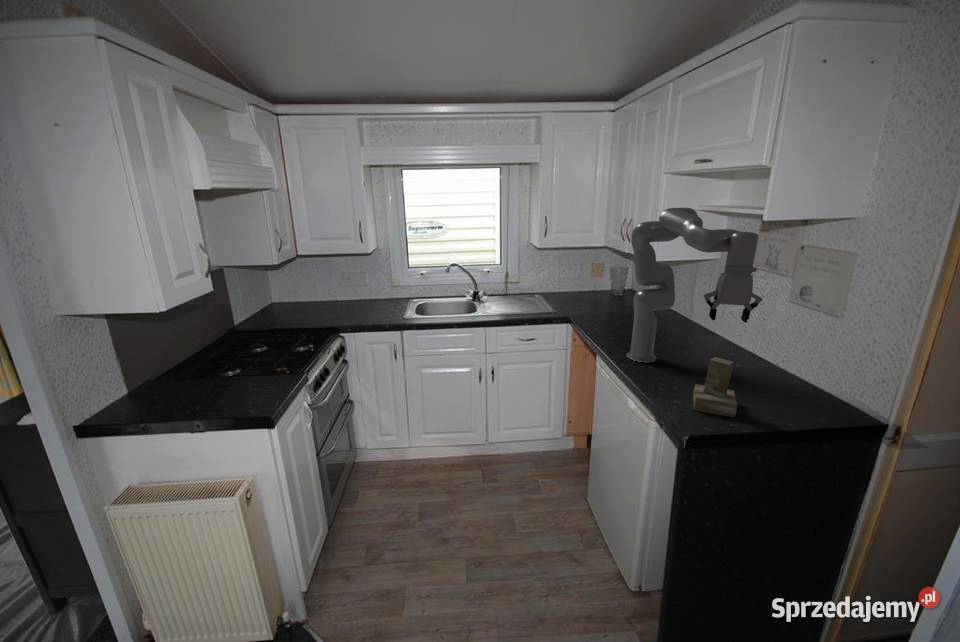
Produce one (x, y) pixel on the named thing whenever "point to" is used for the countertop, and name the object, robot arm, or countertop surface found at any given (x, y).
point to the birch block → (714, 402)
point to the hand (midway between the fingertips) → (728, 320)
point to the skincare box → (718, 376)
